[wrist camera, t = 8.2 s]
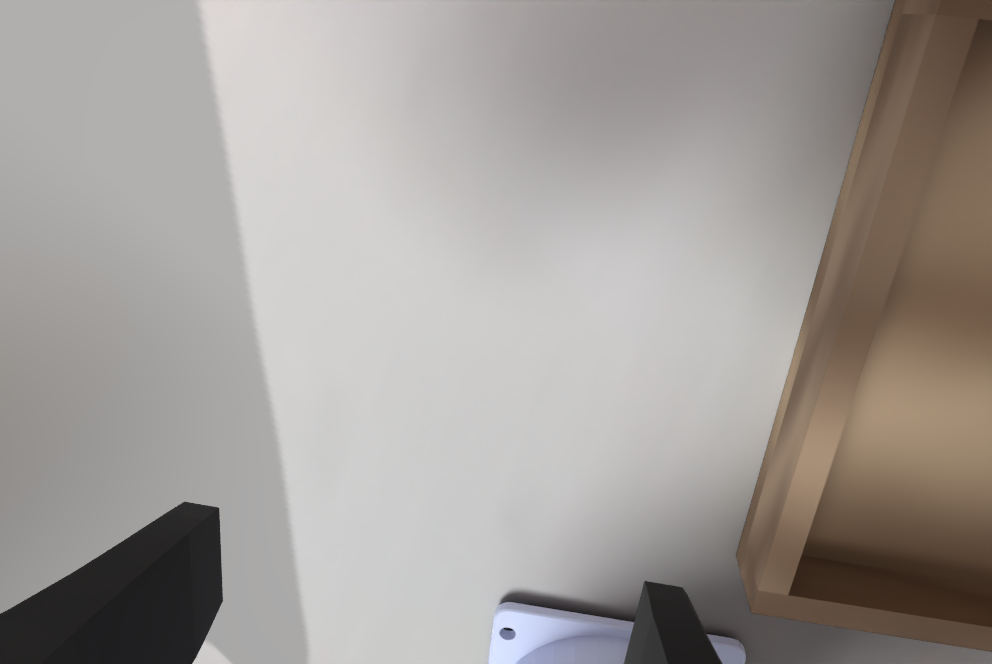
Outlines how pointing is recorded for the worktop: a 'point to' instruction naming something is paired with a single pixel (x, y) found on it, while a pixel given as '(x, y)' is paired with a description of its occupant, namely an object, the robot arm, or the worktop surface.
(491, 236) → the worktop surface
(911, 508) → the walnut tray
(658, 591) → the robot arm
